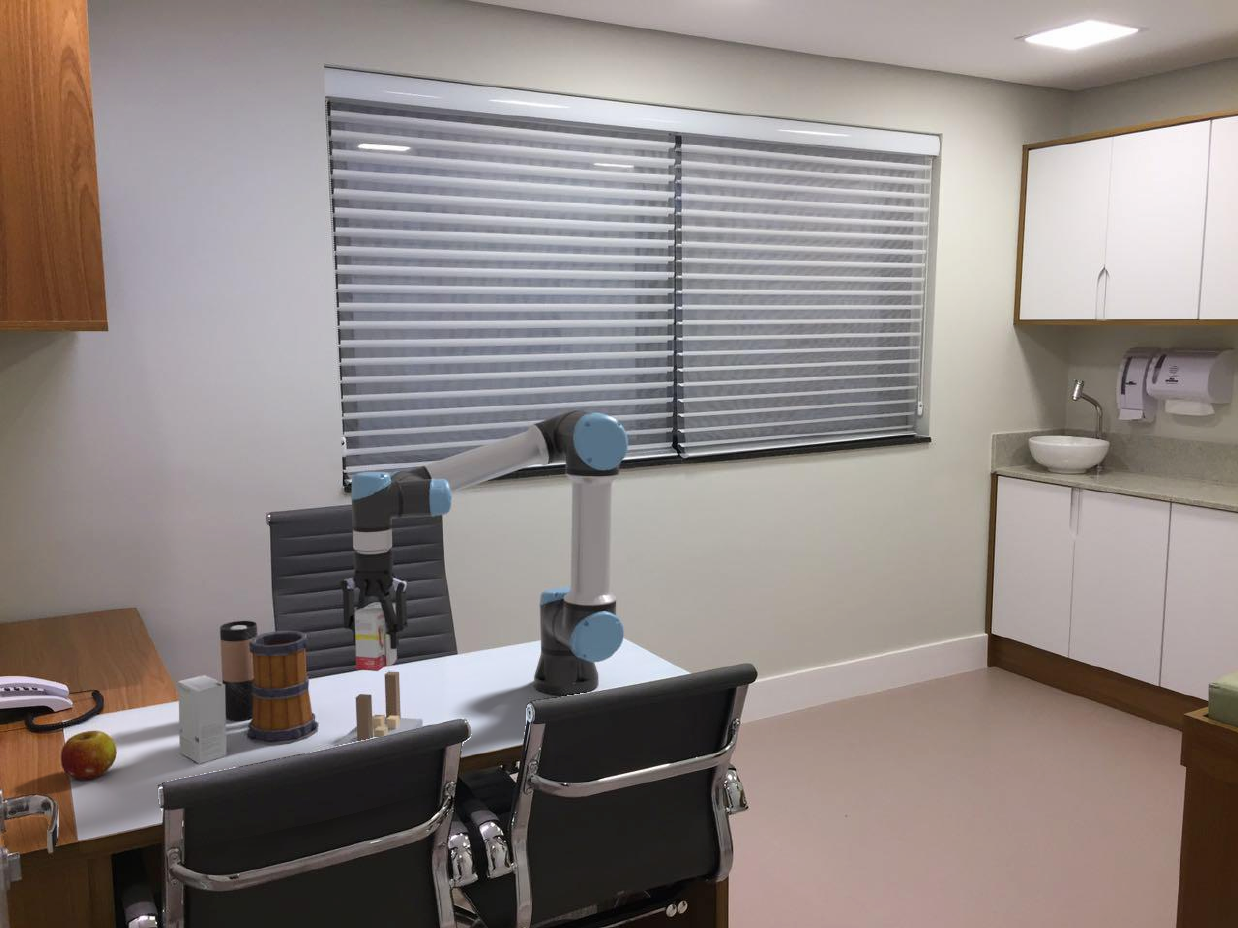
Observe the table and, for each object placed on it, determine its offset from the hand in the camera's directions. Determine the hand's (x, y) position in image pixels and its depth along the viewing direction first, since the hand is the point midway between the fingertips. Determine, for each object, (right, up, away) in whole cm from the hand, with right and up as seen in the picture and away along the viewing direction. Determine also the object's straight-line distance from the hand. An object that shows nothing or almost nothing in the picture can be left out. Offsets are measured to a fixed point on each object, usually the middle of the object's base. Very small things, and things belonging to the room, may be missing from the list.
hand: (376, 663), depth 205 cm
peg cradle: (0, -16, +2) cm, 16 cm away
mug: (-21, -15, +9) cm, 27 cm away
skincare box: (-33, -17, -5) cm, 37 cm away
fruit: (-51, -18, -14) cm, 56 cm away
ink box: (0, -1, 0) cm, 0 cm away
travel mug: (-33, -15, +16) cm, 39 cm away
